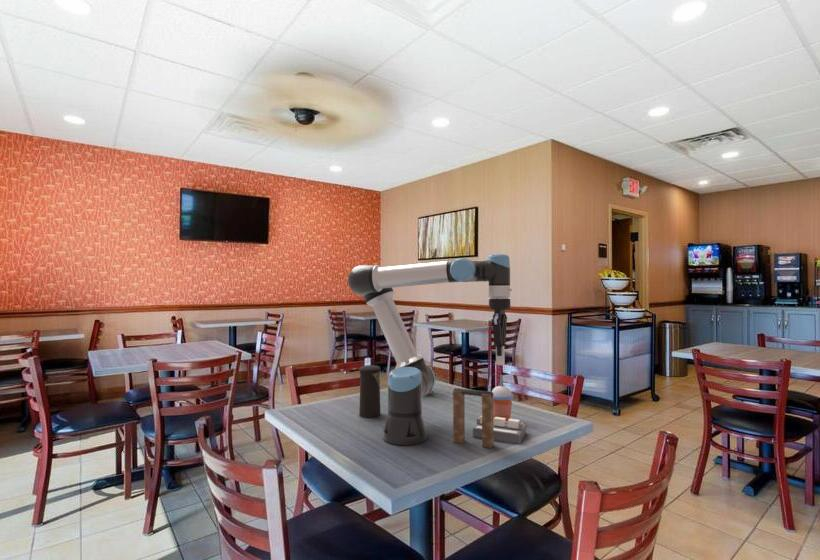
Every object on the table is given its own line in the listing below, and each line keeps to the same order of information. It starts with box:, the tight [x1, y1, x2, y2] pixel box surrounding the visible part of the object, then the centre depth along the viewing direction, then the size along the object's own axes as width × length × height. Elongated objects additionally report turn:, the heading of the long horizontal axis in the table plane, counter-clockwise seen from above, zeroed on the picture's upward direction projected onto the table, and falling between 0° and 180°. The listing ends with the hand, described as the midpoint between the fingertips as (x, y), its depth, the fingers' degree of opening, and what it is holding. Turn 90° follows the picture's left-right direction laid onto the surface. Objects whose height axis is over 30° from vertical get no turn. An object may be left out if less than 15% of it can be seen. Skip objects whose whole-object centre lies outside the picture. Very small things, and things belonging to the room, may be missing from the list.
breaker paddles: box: [479, 414, 521, 429], centre depth 153 cm, size 14×2×2 cm, turn 64°
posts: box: [452, 390, 495, 449], centre depth 144 cm, size 13×4×17 cm, turn 64°
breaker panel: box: [472, 416, 527, 445], centre depth 153 cm, size 16×12×5 cm
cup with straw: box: [491, 374, 514, 422], centre depth 167 cm, size 9×9×18 cm
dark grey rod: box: [452, 387, 493, 397], centre depth 145 cm, size 14×2×2 cm, turn 64°
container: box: [358, 364, 381, 418], centre depth 177 cm, size 9×9×20 cm
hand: (500, 364), depth 153 cm, fingers closed
